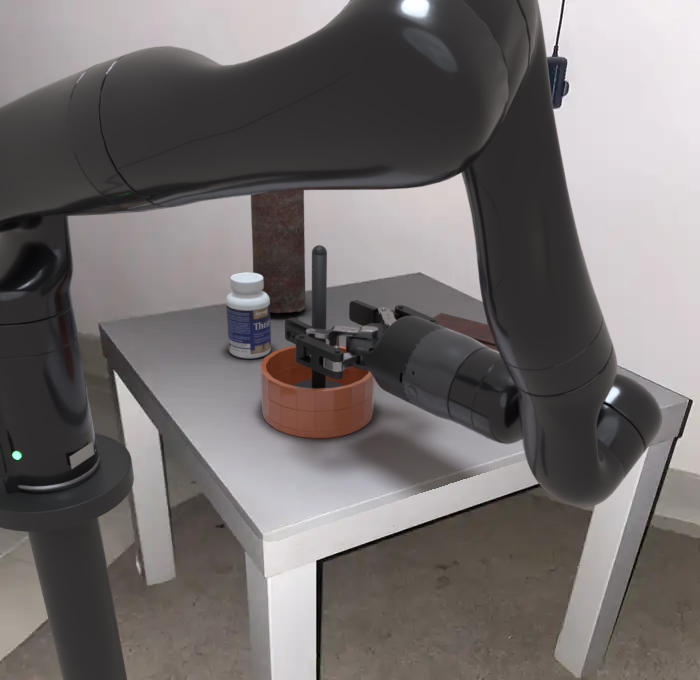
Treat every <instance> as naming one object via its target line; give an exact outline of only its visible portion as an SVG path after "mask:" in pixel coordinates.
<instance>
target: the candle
mask: <svg viewBox="0 0 700 680" xmlns="http://www.w3.org/2000/svg"><path fill="white" fill-rule="evenodd" d="M250 215H251V243H252V244H251V245H252V246H251V247H252V273H257V274H260V275H262V276H263V281H264V288H263V290H262V291H264V292H265V293H266V294H267V295H268V296H269V299H270V313H274V314H287V313H294V312H295V313H296V312H302V311H303V310H306V258H305V257H306V248H305V246H306V245H305V242H306V241H305V238H306V237H305V190H293V191H277V192H269V193H262V194H255V195H250Z"/></svg>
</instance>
